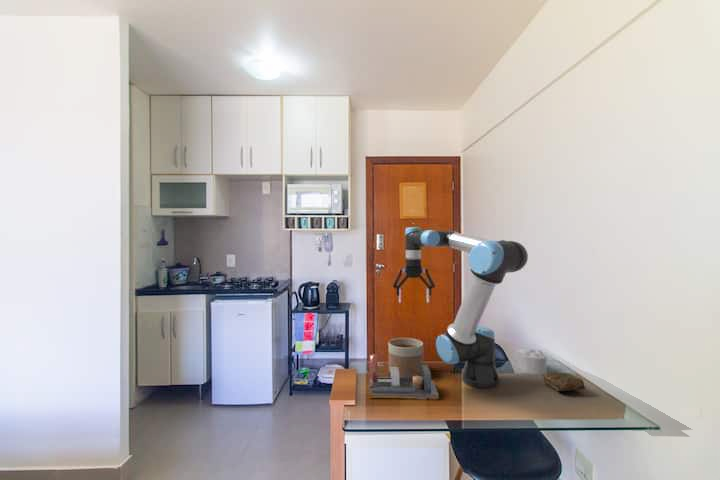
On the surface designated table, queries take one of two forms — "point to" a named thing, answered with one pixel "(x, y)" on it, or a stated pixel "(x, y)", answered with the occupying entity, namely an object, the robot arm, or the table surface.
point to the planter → (406, 356)
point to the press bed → (409, 387)
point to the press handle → (382, 382)
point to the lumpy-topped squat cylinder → (531, 361)
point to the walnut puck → (417, 382)
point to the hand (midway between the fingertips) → (413, 302)
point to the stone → (563, 381)
